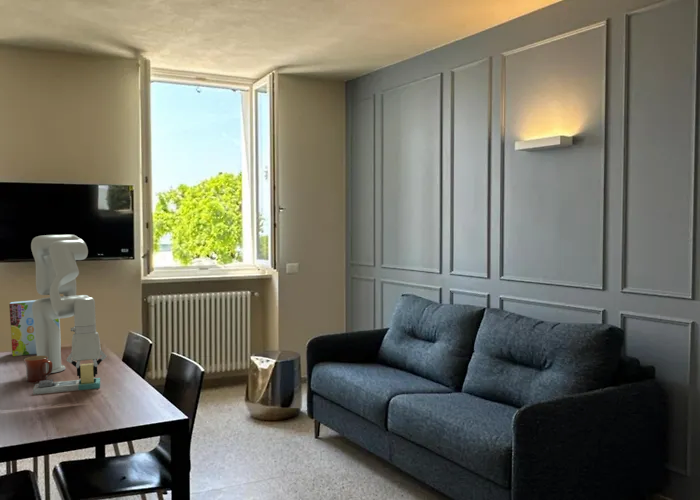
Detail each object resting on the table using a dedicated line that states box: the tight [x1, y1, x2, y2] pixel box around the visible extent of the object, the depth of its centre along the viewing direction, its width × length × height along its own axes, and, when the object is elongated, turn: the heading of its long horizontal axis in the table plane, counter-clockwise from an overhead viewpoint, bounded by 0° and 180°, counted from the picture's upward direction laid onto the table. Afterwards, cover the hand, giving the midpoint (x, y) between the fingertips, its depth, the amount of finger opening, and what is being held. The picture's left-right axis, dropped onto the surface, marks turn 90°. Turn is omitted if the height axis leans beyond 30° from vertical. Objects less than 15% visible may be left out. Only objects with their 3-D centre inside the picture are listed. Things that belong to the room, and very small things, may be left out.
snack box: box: [8, 299, 62, 357], centre depth 321 cm, size 22×9×26 cm, turn 114°
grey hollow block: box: [38, 379, 54, 388], centre depth 247 cm, size 4×4×4 cm
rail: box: [32, 377, 101, 396], centre depth 250 cm, size 23×8×3 cm, turn 109°
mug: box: [23, 355, 53, 384], centre depth 262 cm, size 12×9×10 cm
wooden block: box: [80, 362, 95, 384], centre depth 252 cm, size 4×4×8 cm
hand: (87, 376), depth 252 cm, fingers closed on wooden block, 4 cm apart
